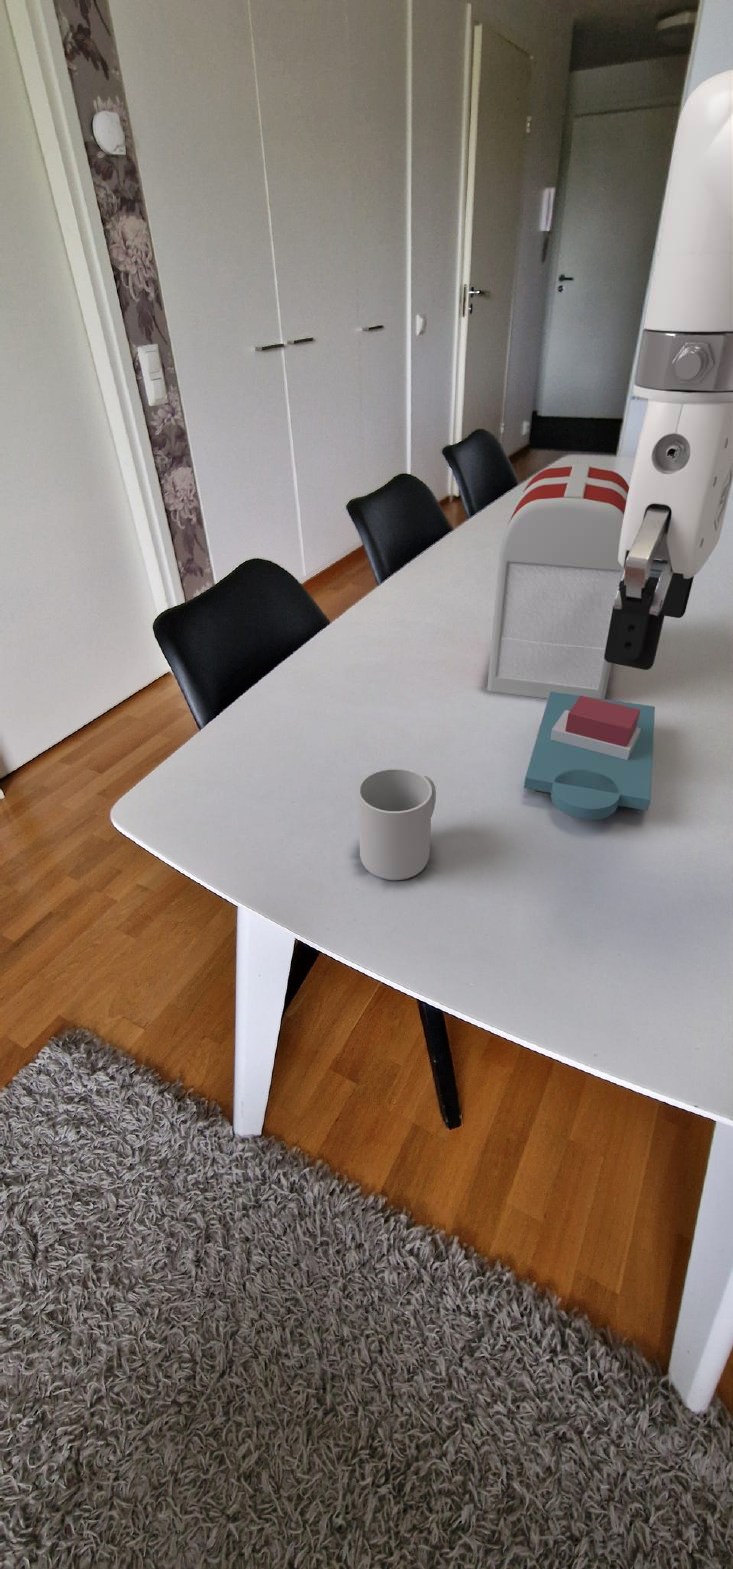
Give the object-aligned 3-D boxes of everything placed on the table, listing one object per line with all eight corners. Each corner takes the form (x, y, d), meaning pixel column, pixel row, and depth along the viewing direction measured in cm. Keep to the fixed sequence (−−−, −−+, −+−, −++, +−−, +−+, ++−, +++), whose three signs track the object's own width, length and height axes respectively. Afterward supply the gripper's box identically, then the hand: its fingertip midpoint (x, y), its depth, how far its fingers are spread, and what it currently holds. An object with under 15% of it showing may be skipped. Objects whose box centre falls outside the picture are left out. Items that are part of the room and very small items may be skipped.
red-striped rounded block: (484, 691, 100) (502, 493, 84) (502, 639, 114) (520, 460, 98) (605, 706, 96) (647, 501, 80) (608, 650, 110) (646, 465, 94)
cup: (345, 861, 73) (341, 793, 67) (405, 813, 79) (406, 747, 73) (400, 893, 69) (400, 823, 64) (458, 840, 75) (463, 773, 70)
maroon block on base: (638, 739, 82) (645, 709, 80) (627, 760, 79) (634, 730, 77) (563, 720, 86) (568, 691, 84) (550, 739, 83) (554, 710, 80)
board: (546, 717, 94) (550, 691, 92) (648, 733, 91) (655, 706, 88) (515, 824, 77) (519, 796, 74) (640, 849, 73) (649, 820, 71)
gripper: (752, 388, 34) (672, 701, 44) (792, 352, 45) (722, 605, 55) (596, 383, 37) (555, 675, 47) (671, 350, 49) (626, 590, 59)
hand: (645, 637), depth 51 cm, fingers open, 9 cm apart
